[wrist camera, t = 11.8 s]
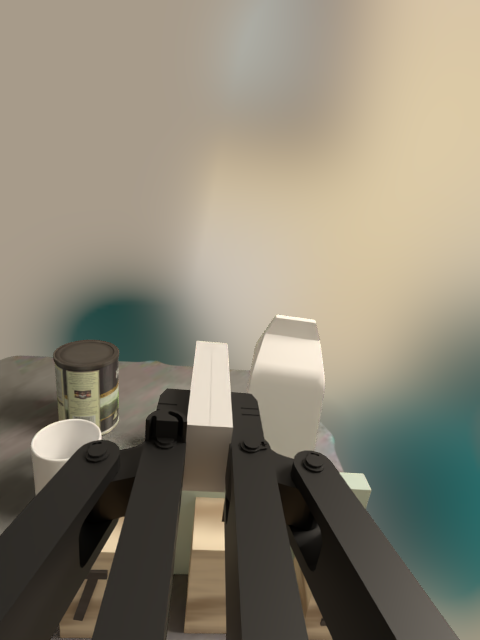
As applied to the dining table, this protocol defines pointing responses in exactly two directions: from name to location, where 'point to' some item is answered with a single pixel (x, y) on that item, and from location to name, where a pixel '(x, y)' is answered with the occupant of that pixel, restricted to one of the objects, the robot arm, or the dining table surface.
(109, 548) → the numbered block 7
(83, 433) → the mug
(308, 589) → the numbered block 1
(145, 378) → the dining table surface
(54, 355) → the coffee can
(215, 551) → the plain block
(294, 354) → the milk
